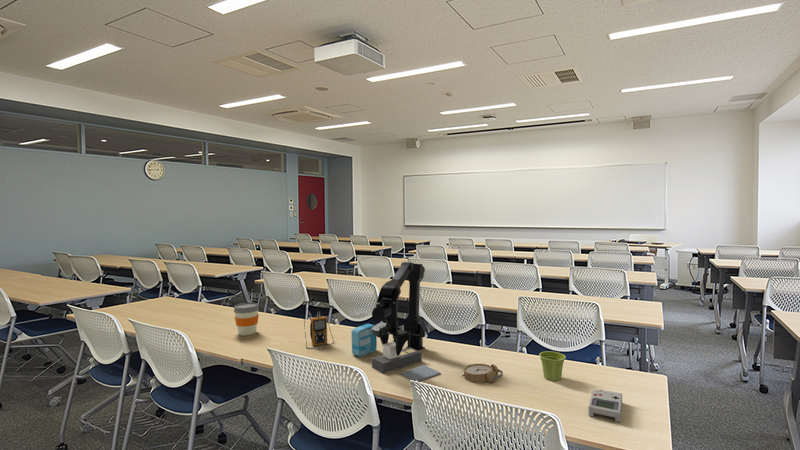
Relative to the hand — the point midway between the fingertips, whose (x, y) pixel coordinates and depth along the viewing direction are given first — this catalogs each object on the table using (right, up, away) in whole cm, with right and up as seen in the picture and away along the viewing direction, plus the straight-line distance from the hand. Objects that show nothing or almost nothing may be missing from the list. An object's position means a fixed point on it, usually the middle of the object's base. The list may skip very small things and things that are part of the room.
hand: (391, 352), depth 173 cm
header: (+2, -6, +2) cm, 6 cm away
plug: (0, -6, 0) cm, 6 cm away
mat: (+12, -6, -9) cm, 16 cm away
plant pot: (+62, -5, -15) cm, 64 cm away
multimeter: (-34, -6, +27) cm, 44 cm away
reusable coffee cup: (-79, -5, +51) cm, 94 cm away
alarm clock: (+35, -6, -13) cm, 38 cm away
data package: (-13, -6, +17) cm, 22 cm away
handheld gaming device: (+70, -7, -40) cm, 80 cm away
